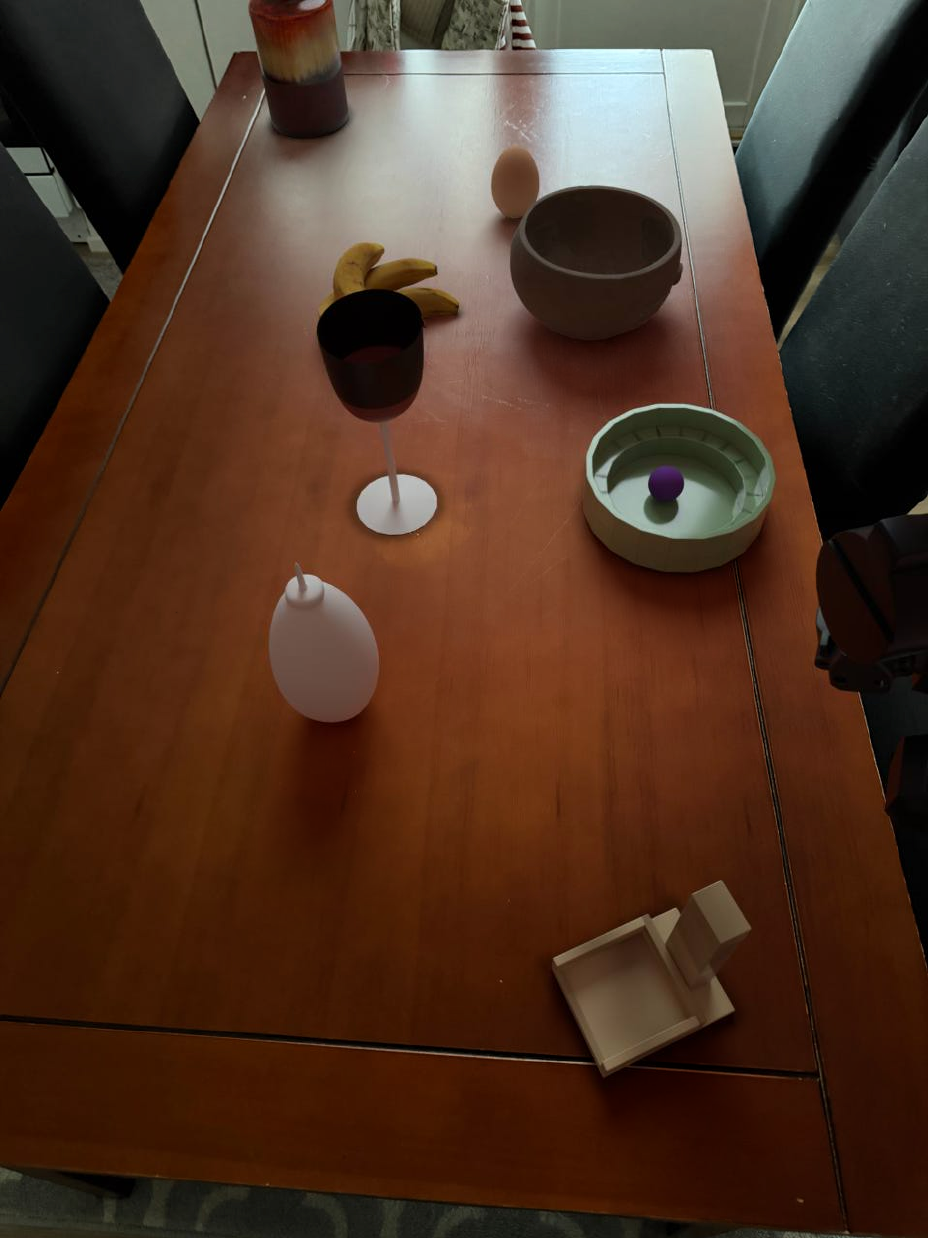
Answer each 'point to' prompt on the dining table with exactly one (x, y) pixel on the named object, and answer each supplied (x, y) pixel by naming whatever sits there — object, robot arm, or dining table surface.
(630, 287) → the bowl
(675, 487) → the ball
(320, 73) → the vase
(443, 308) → the banana
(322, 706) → the sauce bottle
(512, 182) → the egg
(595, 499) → the green bowl
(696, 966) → the scoop
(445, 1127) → the dining table surface
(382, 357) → the wineglass
